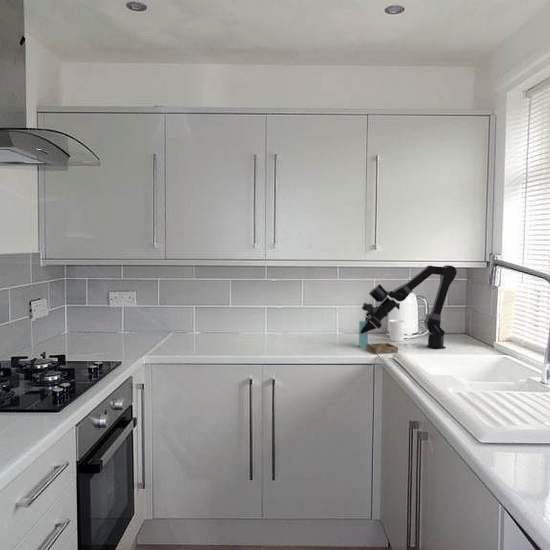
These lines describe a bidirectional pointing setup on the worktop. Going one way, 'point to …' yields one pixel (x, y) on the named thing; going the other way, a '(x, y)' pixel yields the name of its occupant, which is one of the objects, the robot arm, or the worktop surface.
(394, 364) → the worktop surface
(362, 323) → the peg
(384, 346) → the tray
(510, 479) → the worktop surface
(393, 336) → the white cup
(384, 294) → the robot arm
